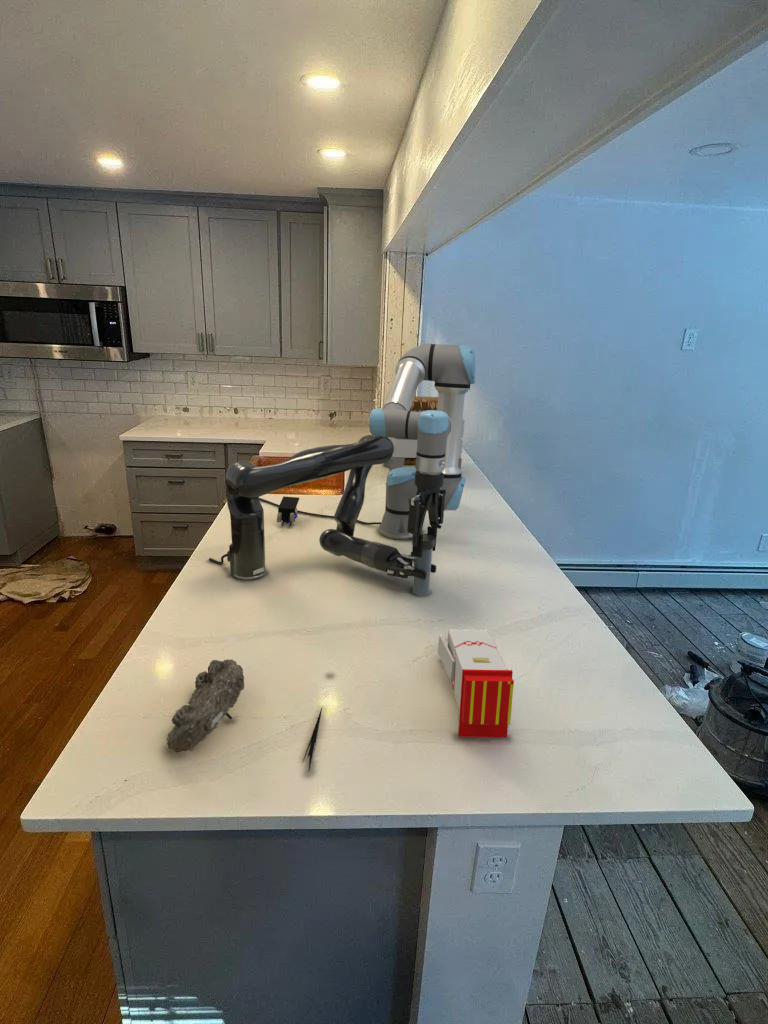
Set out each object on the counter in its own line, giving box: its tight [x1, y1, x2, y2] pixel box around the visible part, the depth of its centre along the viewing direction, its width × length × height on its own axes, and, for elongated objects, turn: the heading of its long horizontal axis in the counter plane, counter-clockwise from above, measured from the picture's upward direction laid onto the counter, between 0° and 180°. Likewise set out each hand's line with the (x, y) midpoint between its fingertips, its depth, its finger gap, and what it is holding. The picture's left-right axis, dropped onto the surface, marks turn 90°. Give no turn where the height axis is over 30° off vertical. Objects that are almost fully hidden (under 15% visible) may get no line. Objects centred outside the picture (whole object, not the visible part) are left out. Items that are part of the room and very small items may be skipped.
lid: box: [422, 533, 435, 549], centre depth 154 cm, size 6×6×2 cm
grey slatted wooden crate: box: [382, 395, 465, 472], centre depth 268 cm, size 34×33×41 cm
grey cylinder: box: [412, 548, 434, 597], centre depth 157 cm, size 5×5×16 cm
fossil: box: [166, 658, 245, 754], centre depth 106 cm, size 22×10×15 cm
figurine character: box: [276, 495, 300, 527], centre depth 205 cm, size 7×8×15 cm
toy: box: [437, 628, 515, 738], centre depth 117 cm, size 12×13×30 cm
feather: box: [301, 673, 332, 771], centre depth 108 cm, size 2×28×2 cm
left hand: (430, 572), depth 156 cm, fingers closed on grey cylinder, 4 cm apart
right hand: (423, 552), depth 156 cm, fingers closed on lid, 5 cm apart
